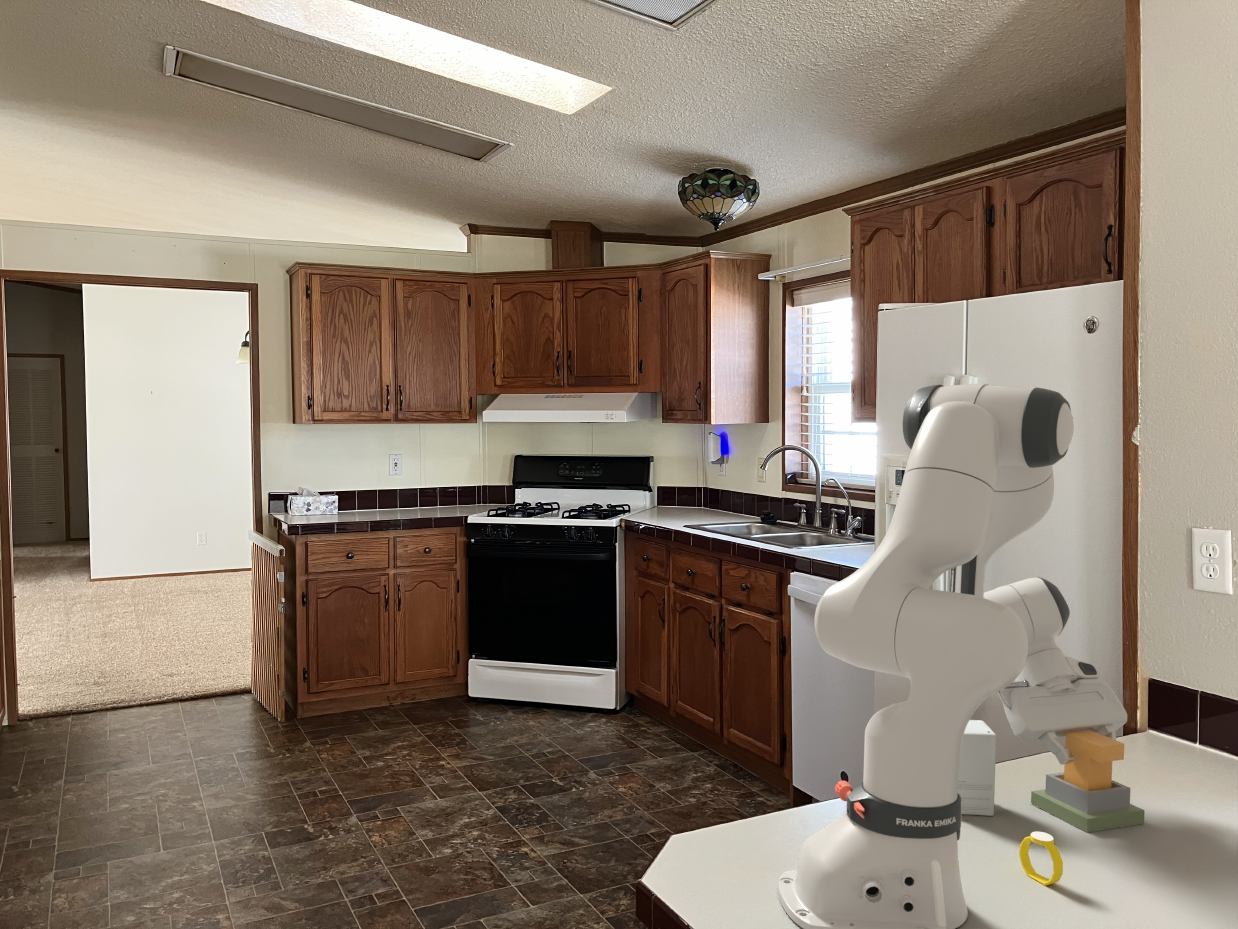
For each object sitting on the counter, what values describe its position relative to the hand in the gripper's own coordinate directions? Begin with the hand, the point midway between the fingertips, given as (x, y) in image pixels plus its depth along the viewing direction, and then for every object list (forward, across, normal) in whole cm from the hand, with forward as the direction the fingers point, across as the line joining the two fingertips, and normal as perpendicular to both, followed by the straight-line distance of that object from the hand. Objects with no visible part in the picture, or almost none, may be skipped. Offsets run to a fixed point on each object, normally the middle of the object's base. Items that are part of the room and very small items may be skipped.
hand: (1091, 759), depth 146 cm
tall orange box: (+4, 0, +5) cm, 7 cm away
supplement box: (0, -16, +12) cm, 21 cm away
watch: (+16, -23, -4) cm, 29 cm away
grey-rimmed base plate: (+6, 0, +6) cm, 9 cm away
